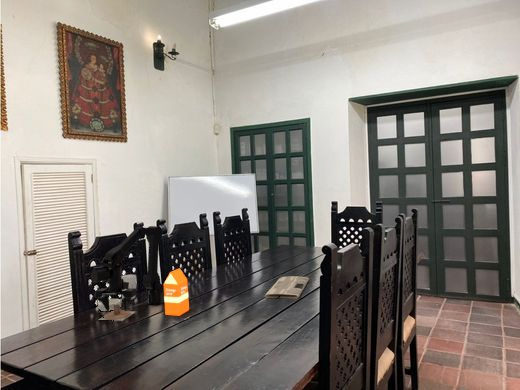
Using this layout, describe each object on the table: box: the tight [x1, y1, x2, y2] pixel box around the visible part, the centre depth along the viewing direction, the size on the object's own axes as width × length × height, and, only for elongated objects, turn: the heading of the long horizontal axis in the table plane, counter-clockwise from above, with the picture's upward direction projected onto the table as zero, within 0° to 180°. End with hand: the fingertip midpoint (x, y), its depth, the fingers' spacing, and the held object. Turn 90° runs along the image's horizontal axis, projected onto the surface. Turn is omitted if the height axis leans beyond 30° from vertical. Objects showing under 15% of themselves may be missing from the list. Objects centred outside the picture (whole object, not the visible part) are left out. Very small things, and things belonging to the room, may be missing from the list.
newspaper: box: [264, 275, 310, 300], centre depth 216 cm, size 37×19×3 cm, turn 165°
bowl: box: [97, 298, 122, 311], centre depth 195 cm, size 10×10×4 cm
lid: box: [103, 304, 131, 320], centre depth 183 cm, size 12×12×5 cm
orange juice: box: [163, 268, 190, 317], centre depth 184 cm, size 8×9×20 cm
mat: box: [98, 310, 136, 322], centre depth 183 cm, size 12×12×1 cm
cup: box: [121, 274, 137, 300], centre depth 212 cm, size 9×9×12 cm
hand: (117, 311), depth 183 cm, fingers open, 9 cm apart
